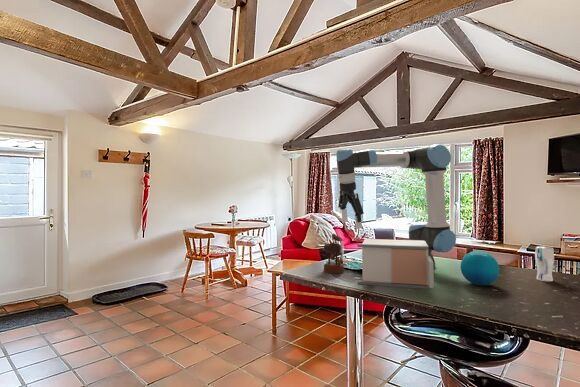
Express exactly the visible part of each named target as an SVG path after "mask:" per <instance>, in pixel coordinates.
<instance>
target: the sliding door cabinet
mask: <svg viewBox="0 0 580 387" xmlns="http://www.w3.org/2000/svg"><path fill="white" fill-rule="evenodd" d="M356 247H357V248H361V250H362V251H361V253H362V254H361V256H362V257H361V258H362V259H361V261H362V264H361V265H362V267H361V268H362V280H360V279H359V280H357V285H368V286H380V287H381V286H382V287H384V286H385V287H395V288H410V289H411V288H414V289H425V290H430V288H429V285H428V282H427V279H426V285H420V284H405V283H392V248H394V249H422V250H426V256H428V250H429V247H428V245H427V243H426V242H425V241H422V240H409V239H388V238H387V239H380V238H378V239H377V238H376V239H375V238H364V240H363V241H362V243H357V246H356Z"/></svg>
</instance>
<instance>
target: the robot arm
mask: <svg viewBox="0 0 580 387" xmlns="http://www.w3.org/2000/svg"><path fill="white" fill-rule="evenodd" d="M335 154H336V165H337V171H338V172H337V173H338V178H337V179H338V182H339V199H338V206H337V207H338V208H339V209H340V211H341V222H342V223H348V222H349V218H348V207H347V206H348V205H347V204H348V203H349V204H350V205H351V208H352V210H353V212H354V219H355V220H354V221H355V229H356V230H359V229H362V228H363V224H362V215H364V214H365V213H364V210H363V207H362V203H361V201H360V197H359V193H355V192H354V191H355V190H356V189H357V184H356V173H355V172H356V171H355V169H359V168H390V167H393V168H394V167H397V168H398V167H400V168H401V169H412V170H421V174H422V175H424V177H425V179H424V180H425V181H424V182H425V192H426V196H425V197H426V209H427V210H426V212H427V222H426V224H425V223H424V224H411V225H409V227H408V240H422V241H425V242H426V243H427V245H428V247H429V250H428V256H430V257H431V259H432V261H433V269H436V261H435V258H434V255H433V251H434V252H436V253H437V252H438V253H445V254H446V253H448V252H450V251H452V250H453V248H455V246H456V243H457V242H456V241H457V236H456V234H455V233H454V231H452V230H451V225H450V223H448V221H447V213H446V212H447V211H446V193H445V192H446V191H445V179H444V178H445V177H444V174H445V173H446V172H447V167H448V166H449V165H450V163H451V162H452V155H451V152H450V150H449V149H448V148H447V147H446V146H445V145H444V144H431V145H427V146H421V147H417V148H413V149H408V150H406V149H405V150H401V151H399V152H377V151H376V150H375V149H373V148H371V149H370V148H369V149H363V150H359V151H358V150H357V151H353V149H352V148H341V149H338V150H337V151H336V153H335Z"/></svg>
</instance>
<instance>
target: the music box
mask: <svg viewBox="0 0 580 387" xmlns="http://www.w3.org/2000/svg"><path fill="white" fill-rule="evenodd" d="M331 238H332V240H333V241H332V242H331V241H330V243H325V244H324V246H323V251H324V252H325V253H328V254H327V255H326V254H324V253H318V254H319V255H320V256H323V257H324V258H327V260H328V261H327V262H326V263H324V264H323V272H324V273H326V274H329V275H330V274H333V275H337V274H343V273H344V272H345V267H344V266H345V264H343V260H342V259H341V257H340V255H342V253H341V249H342V247H341V242H345V239H343V238H342V237H341V236H339V235H337V234H336V233H332V234H331ZM335 241H336V242H337V243H336V242H335ZM339 243H340V244H339ZM339 259H340V260H339ZM331 260H332V261H334V262H331Z"/></svg>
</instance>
